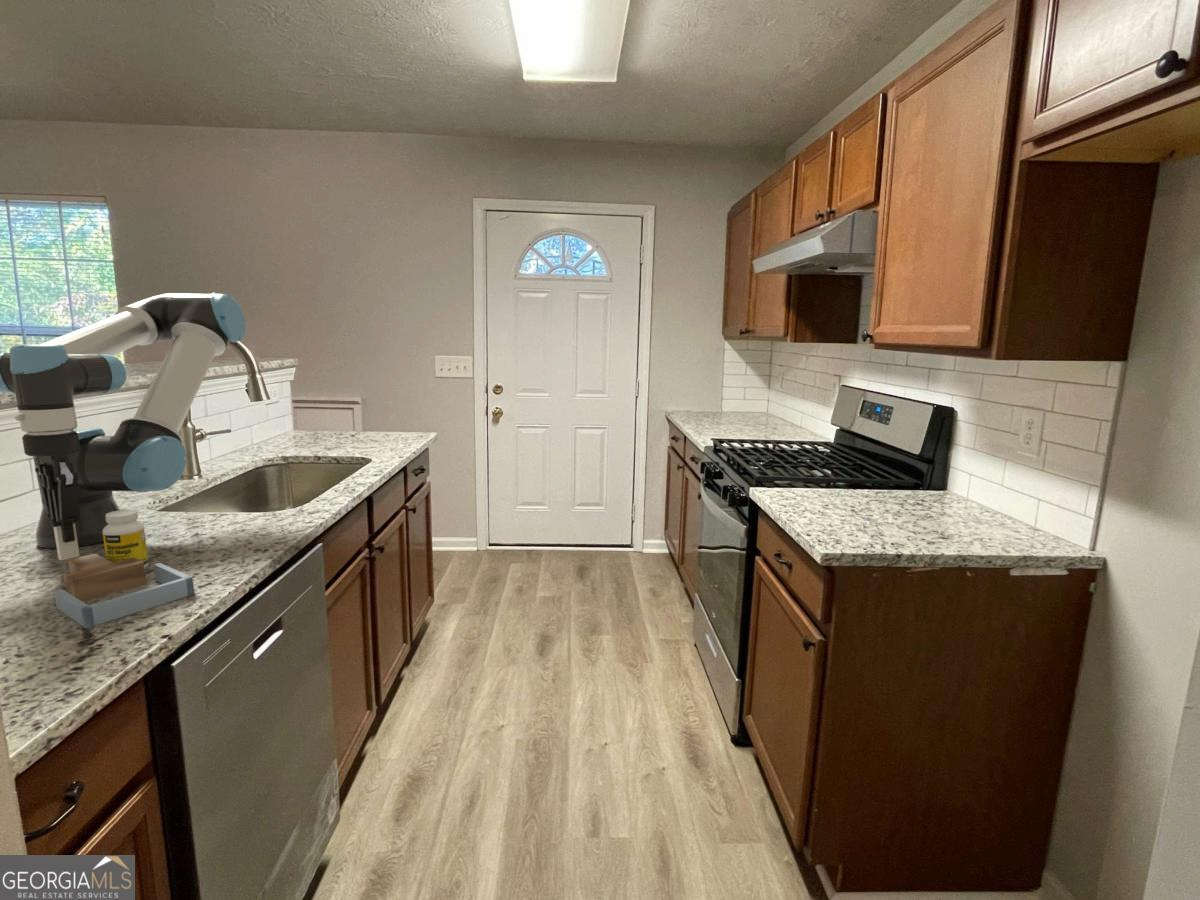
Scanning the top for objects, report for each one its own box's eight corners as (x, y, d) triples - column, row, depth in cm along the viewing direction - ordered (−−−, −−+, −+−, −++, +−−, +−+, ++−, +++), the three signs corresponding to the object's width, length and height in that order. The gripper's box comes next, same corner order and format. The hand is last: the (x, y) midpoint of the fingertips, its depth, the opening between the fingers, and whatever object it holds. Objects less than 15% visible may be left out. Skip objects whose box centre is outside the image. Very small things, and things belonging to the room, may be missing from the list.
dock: (56, 608, 99) (54, 591, 99) (162, 578, 112) (160, 562, 111) (86, 628, 93) (83, 609, 92) (194, 593, 105) (192, 577, 105)
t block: (49, 586, 108) (46, 565, 107) (117, 569, 116) (114, 548, 115) (76, 603, 101) (72, 580, 100) (146, 583, 109) (143, 562, 109)
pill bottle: (104, 577, 112) (95, 519, 110) (112, 566, 117) (103, 510, 115) (146, 572, 114) (138, 514, 112) (151, 561, 120) (144, 506, 118)
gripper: (10, 431, 110) (30, 556, 115) (35, 437, 103) (56, 571, 108) (63, 426, 117) (80, 545, 121) (90, 432, 110) (107, 558, 114)
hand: (69, 557), depth 114 cm, fingers closed
